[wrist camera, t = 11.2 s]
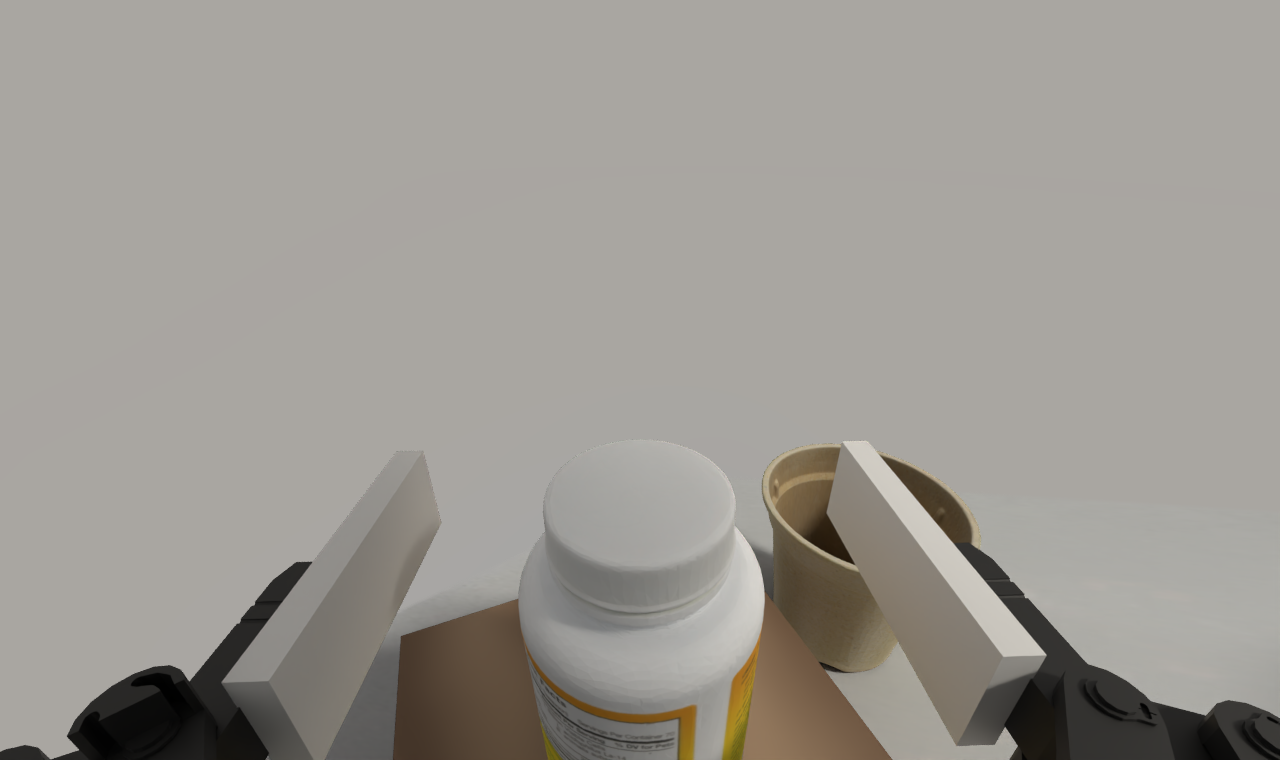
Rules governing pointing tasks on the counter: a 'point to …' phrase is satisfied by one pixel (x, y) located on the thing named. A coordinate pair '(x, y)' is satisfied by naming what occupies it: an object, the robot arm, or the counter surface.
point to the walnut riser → (508, 715)
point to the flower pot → (839, 555)
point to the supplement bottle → (642, 608)
